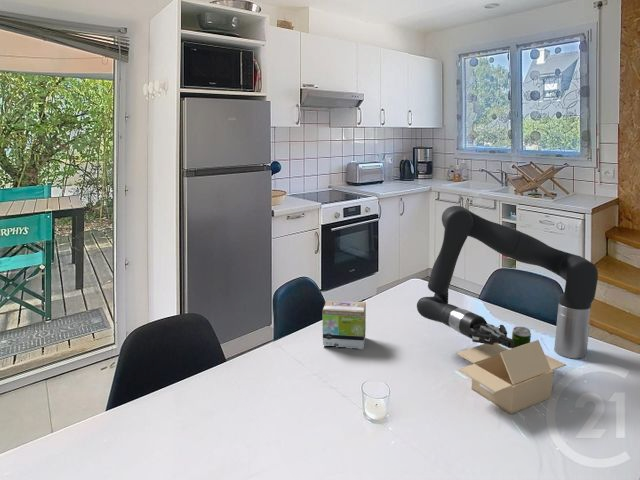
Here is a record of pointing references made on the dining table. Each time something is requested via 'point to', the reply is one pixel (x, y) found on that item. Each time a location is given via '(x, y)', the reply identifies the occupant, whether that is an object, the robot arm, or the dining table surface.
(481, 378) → the carton
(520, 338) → the beer can
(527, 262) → the robot arm
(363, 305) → the tea box
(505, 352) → the flap
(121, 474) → the dining table surface
